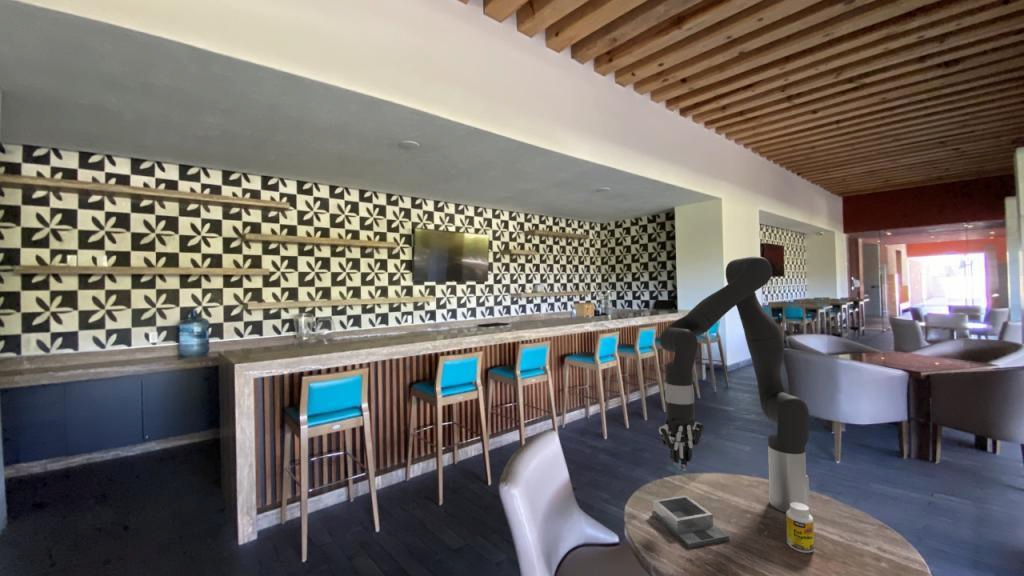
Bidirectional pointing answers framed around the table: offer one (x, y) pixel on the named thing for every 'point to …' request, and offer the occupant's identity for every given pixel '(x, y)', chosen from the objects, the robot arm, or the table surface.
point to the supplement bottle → (800, 528)
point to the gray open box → (687, 521)
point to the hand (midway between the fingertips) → (681, 461)
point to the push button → (681, 453)
